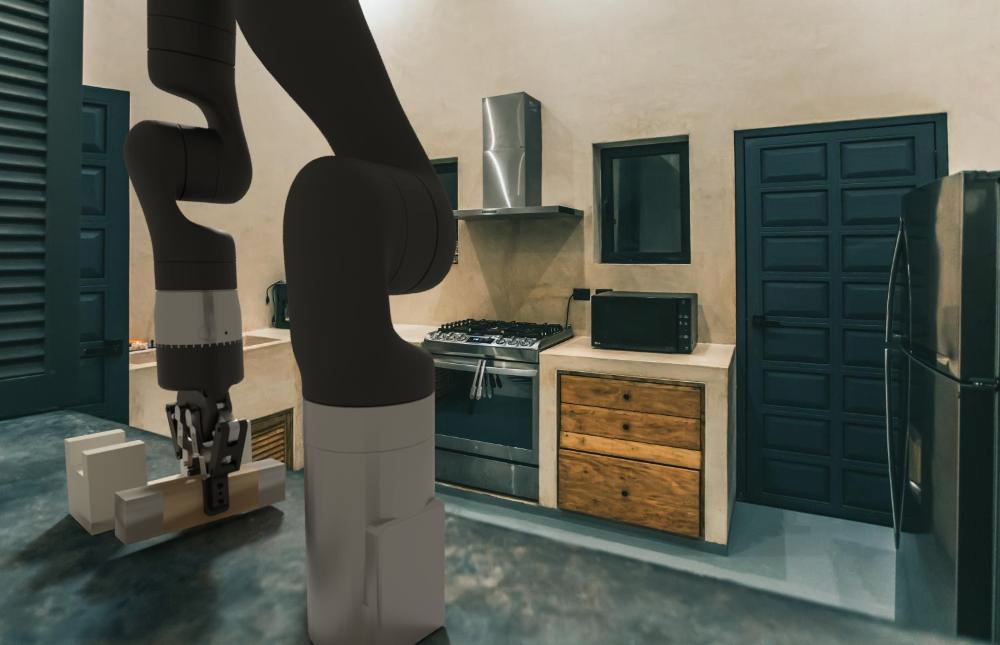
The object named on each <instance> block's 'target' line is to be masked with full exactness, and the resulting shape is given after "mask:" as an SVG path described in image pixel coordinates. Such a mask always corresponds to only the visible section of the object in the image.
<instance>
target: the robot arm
mask: <svg viewBox="0 0 1000 645" xmlns="http://www.w3.org/2000/svg"><path fill="white" fill-rule="evenodd" d="M237 25H238V28H239V30H240V32H241V34H242V36H243V37H244V39H245V41H246V42H247V45H248V47H249V48H250V50H251V51H252V53H253V54H254V55H255V57H256V58H257V59H258V61H259V62H260V63H261V64H262V66H264V68H265V69H266V71H267V72H268V73H269V74H270V75H271V76H272V78H273V79H274V80H275V81H276V82H277V83H278V85H280V87H281V88H282V89H283V90H284V92H286V94H287V95H288V96H289V97H290V98H291V99H292V101H294V102H295V104H296V105H297V106H298V107H299V108H300V109H301V110H302V111H303V112H304V114H305V115H306V116H307V117H308V118H309V120H310V121H311V122H312V124H314V125H315V126H316V127H317V128H318V130H319V132H320V133H321V134H322V136H323V137H324V138H325V140H326V142H327V143H328V146H329V147H330V149H331V150H332V153H333V154H334V155H324V156H323V155H322V156H319V157H317V158H314V159H311V160H310V161H308V162H307V163H305V165H304V166H303V167H301V169H300V170H299V171H298V173H297V174H296V175H295V177H294V179H293V181H292V182H291V184H290V186H289V190H288V193H287V197H286V199H285V203H284V210H283V219H282V248H283V249H282V250H283V252H282V253H283V262H284V275H285V286H286V296H287V297H286V298H287V308H288V309H287V310H288V322H289V337H290V345H291V348H292V352H293V356H294V360H295V362H296V364H297V368H298V370H299V373H300V379H301V380H300V382H301V406H302V405H303V440H302V446H303V447H302V448H303V449H302V450H303V451H302V452H303V488H304V490H303V492H304V530H305V532H304V533H305V535H304V536H305V537H304V538H305V539H304V540H305V569H306V570H305V571H306V572H305V576H306V577H305V578H306V579H305V580H306V601H307V602H306V605H307V606H306V607H307V610H306V611H307V632H308V635H309V640H310V641H311V642H312V644H313V645H416V644H417V643H418V642H420V641H422V640H423V639H424V638H427V637H428V636H430V635H431V634H432V633H434V632H435V631H437V630H439V629H440V628H441V627H443V626H444V625H445V623H446V622H445V621H446V612H445V611H446V601H445V600H446V599H445V598H446V597H445V596H446V592H445V591H446V589H445V588H446V585H445V584H446V579H445V578H446V575H445V574H446V573H445V572H446V568H445V567H446V560H445V559H446V554H445V553H446V549H445V548H446V546H445V544H446V543H445V542H446V539H445V538H446V533H445V532H446V522H445V521H446V517H445V516H446V514H445V513H446V510H445V509H446V504H445V501H444V500H443V499H441V498H439V497H436V495H435V494H436V491H435V489H436V487H435V486H436V484H435V483H436V476H435V475H436V473H435V471H436V470H435V469H436V467H435V464H436V463H435V462H436V460H435V459H436V458H435V457H436V456H435V454H436V452H435V451H436V449H435V448H436V446H435V445H436V441H435V440H436V438H435V434H436V433H435V431H436V424H435V423H436V418H435V417H436V410H435V409H436V407H435V406H436V404H435V403H436V398H435V397H436V396H435V394H436V393H435V390H436V367H435V365H436V364H435V359H434V357H433V355H432V353H431V352H430V351H429V350H428V349H426V348H424V347H422V346H419V345H417V344H413V343H411V342H409V341H406V340H405V339H404V338H402V336H401V335H400V334H398V332H397V331H396V330H395V328H394V324H393V320H392V314H391V304H390V296H392V297H393V296H405V295H412V294H413V295H414V294H419V293H423V292H427V291H430V290H432V289H434V288H436V287H437V286H439V285H440V284H441V283H442V282H443V281H444V280H445V278H446V277H447V275H448V274H449V273H450V271H451V268H452V266H453V264H454V261H455V256H456V252H457V246H458V245H457V243H458V238H457V237H458V234H457V225H456V219H455V214H454V210H453V207H452V204H451V201H450V198H449V196H448V193H447V192H446V189H445V187H444V185H443V182H442V180H441V179H440V177H439V175H438V173H437V171H436V170H435V168H434V166H433V164H432V161H431V160H430V158H429V156H428V154H427V152H426V150H425V148H424V146H423V145H422V143H421V141H420V139H419V137H418V135H417V133H416V132H415V130H414V128H413V125H412V124H411V122H410V120H409V118H408V116H407V114H406V112H405V110H404V108H403V106H402V104H401V102H400V100H399V97H398V95H397V92H396V91H395V88H394V85H393V83H392V80H391V78H390V76H389V73H388V70H387V68H386V66H385V63H384V60H383V58H382V55H381V52H380V51H379V48H378V46H377V44H376V40H375V38H374V35H373V34H372V31H371V29H370V27H369V24H368V22H367V19H366V17H365V15H364V12H363V9H362V6H361V3H360V0H146V31H147V32H146V41H147V42H146V45H147V46H146V48H147V51H146V52H147V54H146V55H147V56H146V58H147V59H146V64H147V65H146V66H147V74H148V78H149V80H150V82H151V84H152V85H153V86H154V87H155V88H157V89H159V90H161V91H162V92H165V93H167V94H170V95H172V96H174V97H178V98H181V99H183V100H186V101H188V102H190V103H192V104H194V105H195V106H196V107H198V108H199V110H200V111H201V112H202V114H203V115H204V118H205V120H206V122H207V123H206V124H207V127H202V126H195V125H191V124H184V123H176V122H170V121H166V120H165V121H164V120H156V119H143V120H141V121H138V122H137V123H135V124H134V125H133V126H132V127H131V128H130V129H129V131H128V133H127V134H126V137H125V139H124V142H123V160H124V165H125V167H126V170H127V174H128V176H129V177H128V178H129V180H130V182H131V184H132V187H133V189H134V192H135V194H136V197H137V199H138V201H139V204H140V208H141V210H142V213H143V216H144V219H145V223H146V226H147V229H148V234H149V237H150V241H151V247H152V248H151V249H152V255H153V256H152V257H153V273H154V289H155V294H154V295H155V296H154V297H155V298H154V299H155V300H154V307H153V308H154V309H153V325H154V328H153V329H154V340H155V341H154V342H155V361H156V375H157V376H156V378H157V385H158V386H159V388H161V389H162V390H165V391H170V392H177V393H176V401H175V402H171V403H166V404H165V408H164V409H165V412H166V417H167V418H166V419H167V421H168V427H169V431H170V434H171V435H170V436H171V440H172V441H171V442H172V445H173V449H174V455H175V458H176V459H177V460H178V461H180V460H181V459H183V462H182V464H183V467H184V469H185V470H187V469H189V470H188V471H187V477H188V476H194V475H198V474H201V476H202V478H203V479H202V485H203V504H204V513H205V514H206V515H208V516H214V515H217V514H220V513H223V512H226V511H227V510H228V509H229V485H228V474H229V473H232V472H236V471H239V470H240V466H241V460H242V455H243V450H244V445H245V440H246V434H247V429H248V423H247V420H248V419H247V418H245V417H242V418H235V417H234V410H233V405H232V400H231V395H230V392H229V391H230V389H231V387H232V386H234V385H237V384H240V383H241V382H242V381H243V380H244V378H245V365H244V364H245V363H244V340H243V339H244V338H243V323H242V322H243V321H242V320H243V319H242V318H243V317H242V310H241V304H240V299H239V292H238V277H237V276H238V275H237V274H238V272H237V252H236V251H237V250H236V243H235V239H234V238H233V236H232V234H230V233H229V232H228V231H225V230H222V229H219V228H216V227H211V226H207V225H204V224H199V223H197V222H194V221H192V220H190V219H189V218H187V217H186V216H185V215H184V213H183V212H182V210H181V209H180V207H179V205H178V203H177V202H190V203H191V202H192V203H206V204H215V205H216V204H217V205H218V204H219V205H233V204H236V203H239V201H241V200H242V199H243V198H244V197H245V196H246V195H247V193H248V191H249V190H250V188H251V184H252V182H253V181H252V180H253V174H254V173H253V162H252V157H251V154H250V150H249V149H250V148H249V145H248V141H247V138H246V137H247V136H246V134H245V131H244V126H243V122H242V117H241V113H240V107H239V100H238V95H237V88H236V68H235V67H236V54H237V53H236V52H237V50H236V48H237ZM230 456H231V457H230Z"/></svg>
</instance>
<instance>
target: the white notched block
mask: <svg viewBox="0 0 1000 645" xmlns="http://www.w3.org/2000/svg"><path fill="white" fill-rule="evenodd" d="M246 420H247V423H248V429H247V434H246V440H245V445H244V450H243V455H242V460H241V465H242V464H247V463H252V462H253V454H252V453H253V452H252V447H253V446H252V427H251V426H252V423H251V420H248V419H246ZM63 441H64V450H65V451H64V453H65V454H64V456H65V466H66V470H65V471H66V482H67V483H66V484H67V497H68V509H69V510H68V511H69V515H71V517H73V519H75V521H76V522H78V523H79V524H80V525H81V526H82V527H83V529H85V530H86V531H87V532H88V533H89V534H90V536H95V535H98V534H102V533H105V532H108V531H113V530H115V496H114V493H115V492H119V491H124V490H128V489H133V488H138V487H142V486H147V485H151V484H156V483H160V482H165V481H169V480H174V479H179V478H183V477H187V471H188V470H189V469H187V470H185V469H184V467H183V464H182V462H183V459H181V460H179V461H180V473H178V474H173V475H171V476H165V477H162V478H158V479H154V480H151V481H148V470H147V468H148V467H147V453H146V452H147V451H146V449H147V448H146V442H145V441H142V440H141V439H136V440H132V441H127V442H126V431H124V430H123V429H121V428H116V429H113V430H112V429H111V430H106V431H100V432H95V433H90V434H86V435H85V434H84V435H80V436H74V437H69V438H64V440H63ZM230 457H231V456H230Z"/></svg>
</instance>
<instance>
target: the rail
mask: <svg viewBox="0 0 1000 645" xmlns="http://www.w3.org/2000/svg"><path fill="white" fill-rule="evenodd" d="M202 479H203V478H202V476H201V474H198V475H194V476H188V477H183V478H179V479H174V480H169V481H165V482H160V483H156V484H151V485H147V486H142V487H138V488H133V489H128V490H124V491H119V492H115V493H114V496H115V529H114V536H115V537H116V538H117V539H118V540H119V541H121V543H122V544H124V545H125V546H130V545H132V544H136V543H140V542H144V541H147V540H151V539H154V538H158V537H161V536H164V535H165V536H166V535H169V534H171V533H176V532H179V531H182V530H185V529H189V528H193V527H195V526H196V527H197V526H200V525H202V524H207V523H211V522H213V521H217V520H220V519H224V518H228V517H231V516H234V515H235V516H236V515H238V514H242V513H245V512H249V511H252V510H256V509H260V508H263V507H266V506H271V505H275V504H277V503H281V502H284V501H286V463H284V462H281V461H279V460H276V459H274V458H271V457H270V458H267V459H262V460H257V461H252V463H247V464H242V465H241V466H240V470H239V471H236V472H232V473H229V474H228V485H229V509H228V510H227V511H226V512H223V513H220V514H217V515H214V516H208V515H206V514H205V513H204V504H203V485H202Z"/></svg>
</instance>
